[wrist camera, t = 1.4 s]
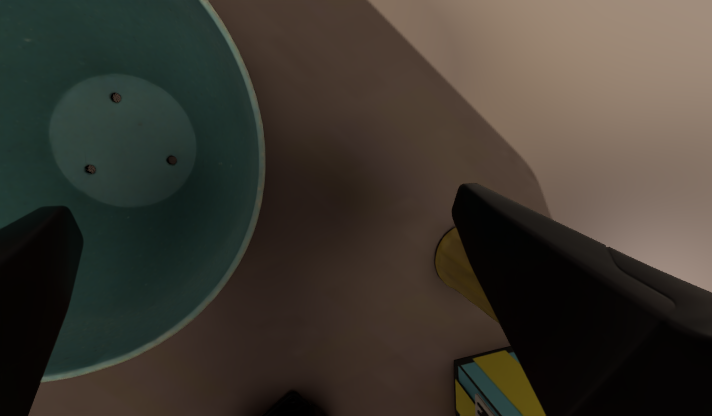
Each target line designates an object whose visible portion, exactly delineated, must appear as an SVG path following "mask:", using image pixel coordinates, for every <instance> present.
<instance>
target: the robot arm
mask: <svg viewBox="0 0 712 416" xmlns="http://www.w3.org/2000/svg"><path fill="white" fill-rule="evenodd" d="M452 217H453V220H454V223H455V226H456V229H457V231H458V234H459V237H460V239H461V242H462V245H463V247H464V250H465V253H466V255H467V258H468V260H469V263H470V265H471V267H472V269H473V272H474V274H475V276H476V278H477V280H478V281H479V283H480V285H481V287H482V289H483V291H484V293H485V295H486V297H487V299H488V301H489V303H490V305H491V307H492V309H493V311H494V313H495V315H496V317H497V319H498V321H499V323H500V325H501V327H502V329H503V331H504V333H505V335H506V337H507V339H508V341H509V343H510V345H511V347H512V349H513V351H514V353H515V355H516V357H517V359H518V361H519V363H520V365H521V367H522V369H523V371H524V373H525V375H526V377H527V379H528V381H529V383H530V385H531V387H532V389H533V391H534V393H535V395H536V397H537V399H538V401H539V403H540V405H541V407H542V409H543V411H544V413H545V415H546V416H712V293H711V292H709V291H707V290H704V289H702V288H700V287H697V286H695V285H692V284H690V283H688V282H685V281H683V280H681V279H678V278H676V277H674V276H672V275H669V274H667V273H664V272H662V271H660V270H658V269H656V268H653V267H651V266H649V265H647V264H644V263H642V262H640V261H638V260H636V259H634V258H631V257H629V256H627V255H625V254H623V253H621V252H619V251H617V250H615V249H613V248H610V247H606V245H604V244H602V243H600V242H598V241H595V240H594V239H592V238H589V237H587V236H585V235H583V234H581V233H579V232H577V231H575V230H573V229H571V228H569V227H566V226H564V225H562V224H560V223H558V222H556V221H554V220H552V219H550V218H548V217H546V216H544V215H542V214H539V213H537V212H535V211H533V210H531V209H529V208H527V207H525V206H523V205H521V204H519V203H517V202H514V201H512V200H510V199H508V198H506V197H504V196H502V195H500V194H498V193H496V192H494V191H492V190H489V189H487V188H485V187H483V186H481V185H479V184H477V183H468V184H462V185H460V187H459V188H458V191H457V194H456V198H455V201H454V204H453V207H452ZM83 245H84V239H83V235H82V233H81V231H80V229H79V227H78V224H77V222H76V220H75V218H74V216H73V214H72V212H71V211H70V209H69V208H68V207H66V206H64V205H59V206H43V207H40V208H38V209H36V210H34V211H32V212H31V213H29V214H27V215H25V216H23V217H21V218H19V219H18V220H16V221H14V222H12V223H10V224H8V225H7V226H5V227H3V228H1V229H0V416H28V414H29V412H30V409H31V406H32V404H33V401H34V398H35V396H36V393H37V390H38V388H39V385H40V383H41V380H42V377H43V375H44V372H45V369H46V367H47V364H48V362H49V359H50V356H51V354H52V351H53V348H54V346H55V343H56V341H57V338H58V335H59V333H60V330H61V327H62V325H63V322H64V320H65V317H66V314H67V311H68V308H69V304H70V301H71V297H72V293H73V288H74V284H75V280H76V276H77V271H78V267H79V263H80V259H81V254H82V250H83ZM292 397H294V399H290V398H292ZM262 416H326V415H325V414H324V413H323V412H321V411H320V410H319V409H318V408H317V407H316V406H315V405H312V404H311V405H310V404H309V403H308V402H307V401H306V400H305V399H304V398H302V397H301V396H300V395H299V394H298V393H297V392H294V391H292V392H290V393H288V394H287V395H286V396H285V397H283V398H282V399H281V400H280V401H279V402H278V403H276V404H275V405H274V406H273V407H272V408H271V409H269V410H268V411H267V412H266V413H265V414H264V415H262Z"/></svg>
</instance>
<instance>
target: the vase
mask: <svg viewBox="0 0 712 416" xmlns="http://www.w3.org/2000/svg"><path fill="white" fill-rule="evenodd" d="M435 265H436V270H437V273H438V275H439V277H440V278H441V280H442V281H443V282H444V283H445V284H447V285H448V286H449V287H451V288H453V289H455V290H457V291H458V292H459V293H461V294H462V295H463V296H465V297H466V298H467V299H468V300H469V301H471V302H472V303H473V304H475V305H476V306H477V307H479V308H480V309H481V310H482V311H484V312H485V313H486V314H488V315H489V316H490V317H491V318H493V319H494V320H495V321H497V322H498V323H499V321H498V319H497V317H496V315H495V313H494V311H493V309H492V307H491V305H490V303H489V301H488V299H487V297H486V295H485V293H484V291H483V289H482V287H481V285H480V283H479V281H478V280H477V278H476V276H475V274H474V272H473V269H472V267H471V265H470V263H469V260H468V258H467V255H466V253H465V250H464V247H463V245H462V242H461V239H460V237H459V234H458V231H457V229H456V227H455V228H454V229H452V230H451V231H449V232H448V233H447V234H446V235H445V236H444V238H443V239H442V241H441V242H440V244H439V246H438V249H437V253H436V258H435ZM499 324H500V323H499Z"/></svg>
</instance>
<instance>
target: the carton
mask: <svg viewBox="0 0 712 416" xmlns="http://www.w3.org/2000/svg"><path fill="white" fill-rule="evenodd" d="M454 371H455V398H456V416H546V415H545V413H544V411H543V409H542V407H541V405H540V403H539V401H538V399H537V397H536V395H535V393H534V391H533V389H532V387H531V385H530V383H529V381H528V379H527V377H526V375H525V373H524V371H523V369H522V367H521V365H520V363H519V361H518V359H517V357H516V355H515V353H514V351H513V349H512V347H511V346H510V347H506V348H502V349H498V350H494V351H490V352H486V353H482V354H478V355H474V356H470V357H466V358H462V359H458V360H454Z"/></svg>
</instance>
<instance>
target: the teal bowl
mask: <svg viewBox="0 0 712 416" xmlns="http://www.w3.org/2000/svg"><path fill="white" fill-rule="evenodd" d="M113 93H117V94H119V95H120V96H121V101H120V102H118V103H116V102H113V100H112V99H111V95H112V94H113ZM169 156H174V157H176V159H177V162H176V164H173V165H172V164H169V163H168V162H167V159H168V157H169ZM87 165H93V166H94V167H95V169H96V171H95V173H93V174H90V173H87V172H86V168H85V167H86V166H87ZM264 183H265V140H264V132H263V124H262V119H261V114H260V109H259V105H258V102H257V98H256V94H255V91H254V88H253V85H252V82H251V79H250V76H249V74H248V71H247V69H246V66H245V64H244V62H243V60H242V57H241V55H240V53H239V50H238V48H237V47H236V45H235V43H234V41H233V39H232V38H231V36H230V34H229V32H228V30H227V29H226V27H225V25H224V24H223V22H222V21H221V19H220V17H219V16H218V15H217V13H216V12H215V10H214V9H213V7H212V6H211V4H210V3H209V2H208V0H0V229H1V228H3V227H5V226H7V225H8V224H10V223H12V222H14V221H16V220H18V219H19V218H21V217H23V216H25V215H27V214H29V213H31V212H32V211H34V210H36V209H38V208H40V207H43V206H59V205H64V206H66V207H68V208H69V209H70V211H71V212H72V214H73V216H74V218H75V220H76V222H77V224H78V227H79V229H80V231H81V233H82V235H83V239H84V245H83V250H82V254H81V259H80V263H79V267H78V271H77V276H76V280H75V284H74V288H73V293H72V297H71V301H70V304H69V308H68V311H67V314H66V317H65V320H64V322H63V325H62V327H61V330H60V333H59V335H58V338H57V341H56V343H55V346H54V348H53V351H52V354H51V356H50V359H49V362H48V364H47V367H46V369H45V372H44V375H43V377H42V380H41V382H48V381H54V380H60V379H66V378H71V377H75V376H79V375H83V374H88V373H91V372H94V371H97V370H101V369H104V368H107V367H110V366H113V365H116V364H118V363H121V362H124V361H126V360H129V359H131V358H133V357H135V356H137V355H139V354H141V353H143V352H145V351H147V350H149V349H151V348H153V347H155V346H157V345H158V344H160V343H162V342H163V341H165V340H166V339H168V338H169V337H171V336H172V335H174V334H175V333H177V332H178V331H180V330H181V329H182V328H183V327H185V326H186V325H187V324H188V323H190V322H191V321H192V320H193V319H194V318H195V317H196V316H197V315H199V314H200V313H201V312H202V311H203V310H204V309H205V308H206V307H207V306H208V305H209V304H210V303H211V301H212V300H213V299H214V298H215V297H216V296H217V295H218V293H219V292H220V291H221V290H222V288H223V287H224V286H225V285H226V283H227V282H228V280H229V279H230V277H231V276H232V274H233V273H234V271H235V270H236V268H237V266H238V265H239V263H240V261H241V260H242V258H243V256H244V254H245V252H246V249H247V247H248V245H249V243H250V240H251V238H252V235H253V233H254V230H255V227H256V223H257V220H258V216H259V212H260V208H261V203H262V197H263V191H264Z"/></svg>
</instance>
